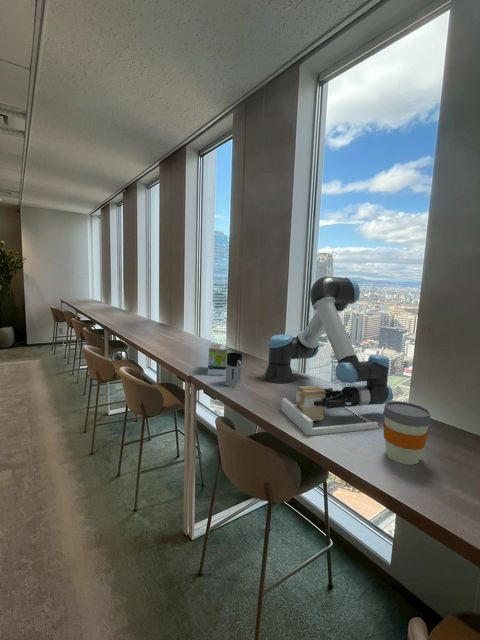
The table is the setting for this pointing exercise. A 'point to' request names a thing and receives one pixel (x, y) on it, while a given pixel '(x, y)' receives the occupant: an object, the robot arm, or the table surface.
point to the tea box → (217, 359)
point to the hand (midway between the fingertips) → (300, 399)
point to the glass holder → (234, 370)
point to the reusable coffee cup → (405, 431)
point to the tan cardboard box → (311, 393)
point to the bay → (307, 425)
